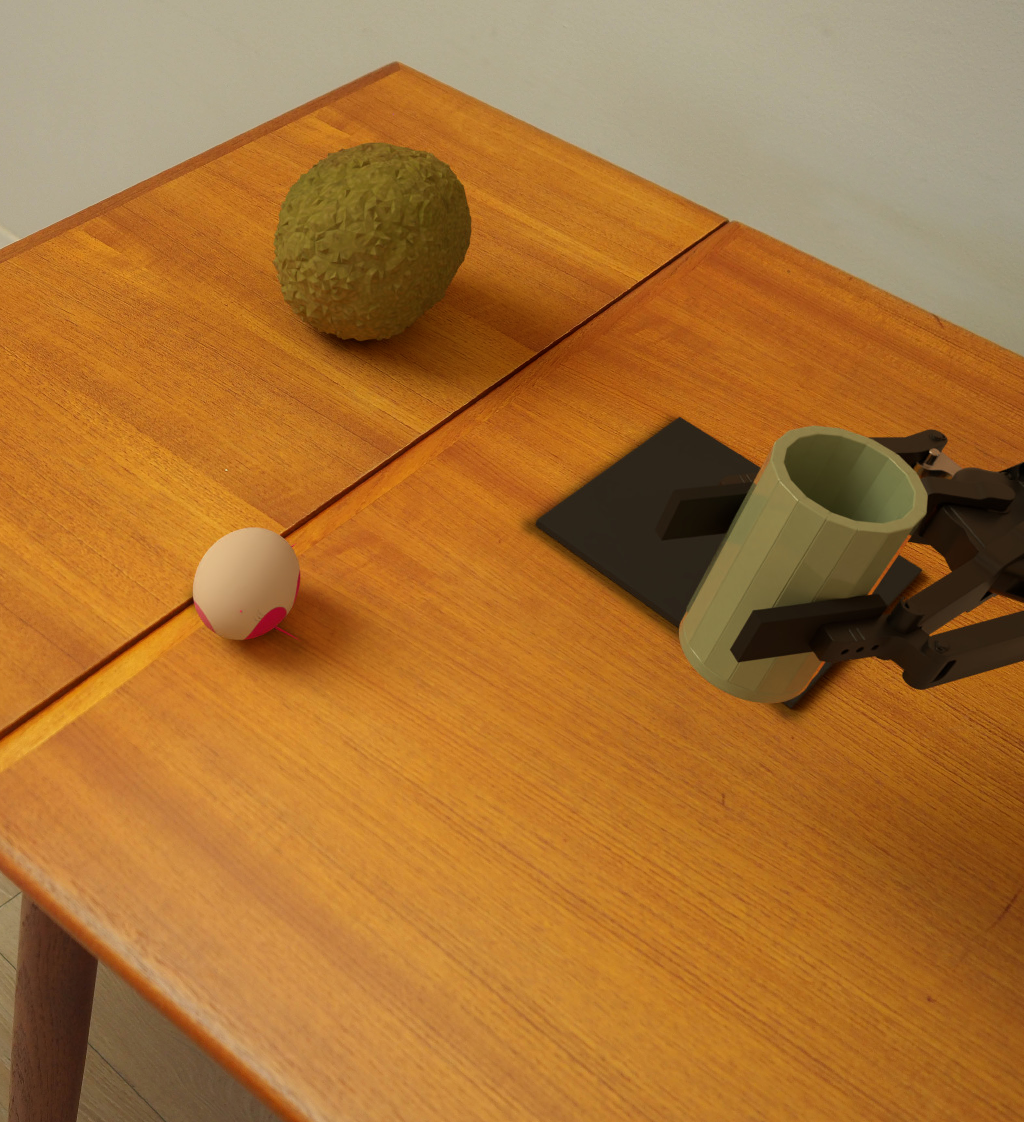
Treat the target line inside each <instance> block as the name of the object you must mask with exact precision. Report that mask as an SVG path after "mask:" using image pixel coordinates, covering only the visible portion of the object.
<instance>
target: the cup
mask: <svg viewBox="0 0 1024 1122" xmlns="http://www.w3.org/2000/svg"><path fill="white" fill-rule="evenodd" d="M868 437H869V436H864V435H862V434H859V433H856V432H853V431H850V430H848V429H844V428H840V427H834V426H833V427H831V426H822V425H808V426H803V427H799V428H794V429H790V430H788V431H786V432H785V433H783V435H781V437H779V438H778V439H776V440H775V441H774V443H773V444H772V447H770V450H769V452H768V454H767V455H766V458H765V460H764V462H763V463H762V466H761V467H760V468H761V469H760V471H759V473H758V474H757V476H756V478H755V480H754V482H753V484H752V486H751V488H750V490H749V491H748V493H747V495H746V497H745V499H744V501H743V503H742V505H741V506H740V508H739V510H738V512H737V514H736V516H735V518H734V520H733V521H732V523H731V525H730V527H729V529H728V531H727V533H726V535H725V537H724V538H723V540H722V542H721V544H720V546H719V548H718V550H717V552H716V553H715V555H714V557H713V559H712V561H711V563H710V565H709V567H708V568H707V570H706V572H705V574H704V576H703V578H702V580H701V582H700V583H699V585H698V587H697V589H696V591H695V593H694V595H693V597H692V599H691V600H690V602H689V604H688V606H687V609H686V612H685V614H684V616H683V618H682V620H681V623H680V627H679V628H678V640H679V644H680V647H681V650H682V653H683V654H684V656H685V658H686V660H687V661H688V664H690V666H691V667H692V668H693V669H694V671H696V672H697V674H698V675H700V676H701V678H703V679H704V680H705V681H706V682H708V683H709V684H710V685H711V686H713V687H715V688H717V689H718V690H720V691H722V692H723V693H725V694H728V695H729V696H732V697H734V698H737V699H740V700H743V701H747V702H752V703H757V704H779V703H782V702H784V701H787V700H790V699H793V698H795V697H796V696H798V695H800V694H801V693H802V692H803V691H804V690H805V689H806V688H807V686H808V685H809V683H810V682H811V680H812V679H813V678H814V677H815V676H816V675H817V673H818V672H819V671H820V669H821V668H822V666H823V665H824V663H825V662H823V661H819V659H818V658H817V656H816V655H815V653H814V652H808V653H801V654H794V655H787V656H780V657H773V658H766V659H759V660H752V661H745V662H737V660H736V659H735V657H734V656H733V654H732V652H731V651H730V648H731V647H732V645H733V643H734V642H735V640H736V638H737V637H738V635H739V633H740V631H741V630H742V628H743V626H744V625H745V623H746V621H747V620H748V618H749V616H750V615H751V613H752V611H753V610H759V609H767V608H774V607H782V606H789V605H797V604H804V603H812V602H819V601H827V600H835V599H842V598H850V597H857V596H865V595H871V594H872V593H873V592H874V590H875V589H876V587H877V586H878V584H879V583H880V581H881V580H882V578H883V577H884V575H885V574H886V573H887V571H888V570H889V568H890V567H891V565H892V564H893V562H894V561H895V559H896V558H897V556H898V555H900V554H901V552H902V550H903V549H904V548H905V546H906V545H907V543H909V542H908V540H909V539H910V537H911V536H912V535H913V533H914V532H915V530H916V529H917V527H918V526H919V524H920V523H921V521H922V520H923V518H924V517H925V515H926V513H927V500H928V495H927V492H926V490H925V488H924V486H923V484H922V482H921V480H920V478H919V476H918V475H917V473H916V472H915V471H914V470H913V469H912V468H911V467H910V466H909V465H908V464H907V463H906V462H905V461H904V460H903V459H902V458H901V457H900V456H899V455H898V454H896V453H894V452H893V451H891V450H889V449H888V448H886V447H884V446H883V445H881V444H879V443H878V442H876V441H874V440H872V439H870V438H868Z"/></svg>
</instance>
